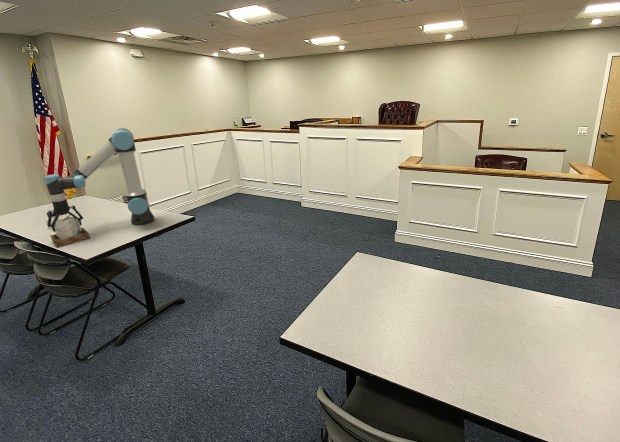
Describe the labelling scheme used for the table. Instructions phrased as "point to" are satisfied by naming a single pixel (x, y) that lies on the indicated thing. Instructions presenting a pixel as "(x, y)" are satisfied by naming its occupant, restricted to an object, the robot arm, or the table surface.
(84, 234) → the walnut tray
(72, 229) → the ink box
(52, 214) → the medicine bottle
